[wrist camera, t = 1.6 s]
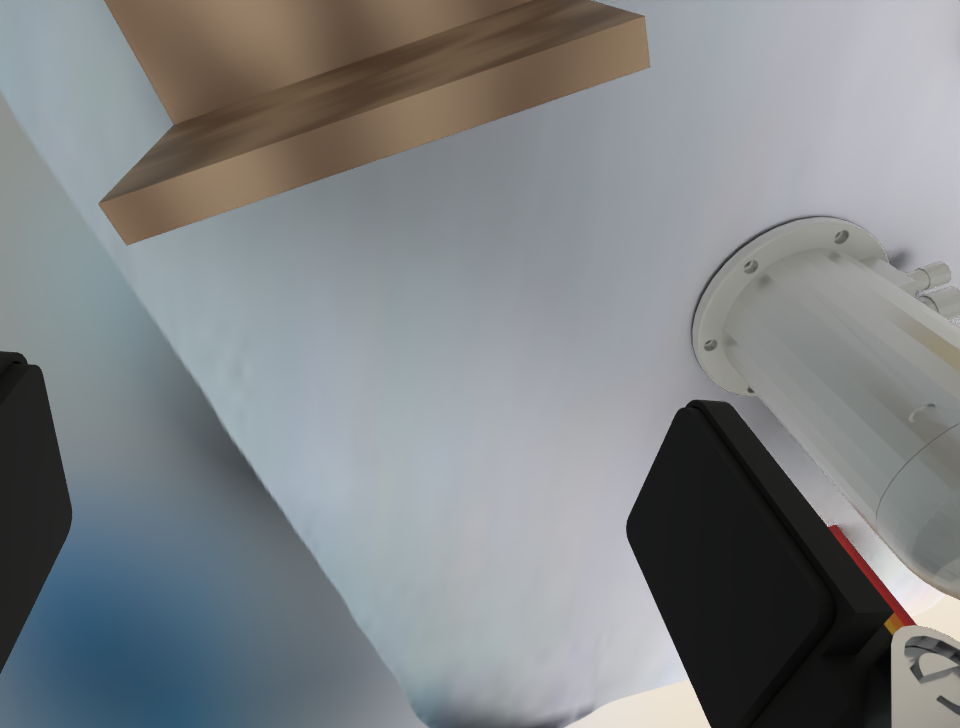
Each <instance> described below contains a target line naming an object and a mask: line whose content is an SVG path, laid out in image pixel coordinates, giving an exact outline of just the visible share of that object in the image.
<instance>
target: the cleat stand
mask: <svg viewBox="0 0 960 728" xmlns="http://www.w3.org/2000/svg"><path fill="white" fill-rule="evenodd" d="M104 1H105V2H106V4H107V6H108V8H109V10H110V11H111V13H112V15H113V17H114V19H115V20H116V22H117V24H118V26H119V27H120V29H121V31H122V33H123V35H124V36H125V38H126V40H127V42H128V43H129V45H130V47H131V49H132V51H133V52H134V54H135V56H136V58H137V60H138V61H139V63H140V65H141V67H142V68H143V70H144V72H145V74H146V76H147V77H148V79H149V81H150V83H151V84H152V86H153V88H154V90H155V92H156V93H157V95H158V97H159V99H160V101H161V102H162V104H163V106H164V108H165V109H166V111H167V113H168V115H169V117H170V118H171V120H172V122H173V124H174V125H173V126H172V127H171V129H170V130H169V131H168V132H167V133H166V134H165V135H164V136H163V137H162V138H161V139H160V140H159V141H158V142H157V143H156V144H155V145H154V146H153V147H152V148H151V149H150V150H149V151H148V152H147V153H146V154H145V156H144V157H143V158H142V159H141V160H140V161H139V162H138V163H137V164H136V165H135V166H134V167H133V168H132V169H131V170H130V171H129V172H128V173H127V174H126V175H125V176H124V177H123V178H122V179H121V180H120V182H119V183H118V184H117V185H116V186H115V187H114V188H113V189H112V190H111V191H110V192H109V193H108V194H107V195H106V196H105V197H104V198H103V199H102V200H101V201H100V202H99V203H98V205H99V206H100V207H101V209H102V210H103V212H104V213H105V215H106V216H107V218H108V219H109V221H110V222H111V224H112V225H113V226H114V228H115V229H116V231H117V232H118V234H119V235H120V237H121V238H122V240H123V241H124V243H125V244H126V246H127V245H130V244H133V243H135V242H138V241H141V240H144V239H147V238H150V237H153V236H156V235H159V234H162V233H165V232H168V231H171V230H174V229H177V228H179V227H182V226H185V225H188V224H191V223H194V222H197V221H200V220H203V219H206V218H209V217H212V216H215V215H218V214H221V213H223V212H226V211H229V210H232V209H235V208H238V207H241V206H244V205H247V204H250V203H253V202H256V201H259V200H262V199H265V198H267V197H270V196H273V195H276V194H279V193H282V192H285V191H288V190H291V189H294V188H297V187H300V186H303V185H306V184H309V183H311V182H314V181H317V180H320V179H323V178H326V177H329V176H332V175H335V174H338V173H341V172H344V171H347V170H350V169H353V168H355V167H358V166H361V165H364V164H367V163H370V162H373V161H376V160H379V159H382V158H385V157H388V156H391V155H394V154H397V153H399V152H402V151H405V150H408V149H411V148H414V147H417V146H420V145H423V144H426V143H429V142H432V141H435V140H438V139H441V138H444V137H446V136H449V135H452V134H455V133H458V132H461V131H464V130H467V129H470V128H473V127H476V126H479V125H482V124H485V123H488V122H490V121H493V120H496V119H499V118H502V117H505V116H508V115H511V114H514V113H517V112H520V111H523V110H526V109H529V108H532V107H534V106H537V105H540V104H543V103H546V102H549V101H552V100H555V99H558V98H561V97H564V96H567V95H570V94H573V93H576V92H578V91H581V90H584V89H587V88H590V87H593V86H596V85H599V84H602V83H605V82H608V81H611V80H614V79H617V78H620V77H622V76H625V75H628V74H631V73H634V72H637V71H640V70H643V69H646V68H649V67H650V62H649V53H648V43H647V34H646V25H645V16H643V15H639V14H636V13H632V12H629V11H625V10H622V9H619V8H615V7H612V6H608V5H605V4H601V3H598V2H595V1H591V0H104Z"/></svg>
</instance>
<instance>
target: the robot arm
mask: <svg viewBox="0 0 960 728" xmlns="http://www.w3.org/2000/svg"><path fill="white" fill-rule="evenodd" d="M950 279H951V272H950V269H949V267H948V266H947V265H946V264H945V263H943V262H936V263H933V264H930V265H927V266H924V267H921V268H918V269H916V270H915V271H912V272H909V273H906V272H904V271H899V270H898V269H896V268H894V267H893V266H891V265H890V264H889V261H888V258H887V254H886V252H885V250H884V249H883V247H882V246H881V244H880V243H879V241H878V240H877V239H876V238H875V237H873V236H872V235H871V234H870V233H868V232H867V231H866V230H864V229H862V228H860V227H858V226H857V225H855V224H853V223H851V222H848V221H844V220H841V219H837V218H826V217H815V218H808V219H802V220H797V221H794V222H791V223H788V224H784V225H781V226H778V227H776V228H774V229H772V230H770V231H769V232H767V233H765V234H763V235H761V236H759V237H757V238H756V239H754V240H753V241H752V242H750V243H749V244H747V245H746V246H744V247H743V248H742V249H740V250H739V251H738V252H737V253H736V254H735V255H734V256H733V257H732V258H731V259H730V260H729V261H727V262H726V263H725V264H724V266H723V267H722V268H721V269H720V271H719V272H718V273H717V274H716V276H715V277H714V278H713V279H712V281H711V282H710V284H709V286H708V287H707V289H706V291H705V293H704V294H703V296H702V298H701V301H700V303H699V306H698V308H697V311H696V314H695V319H694V324H693V329H692V335H693V347H694V351H695V355H696V358H697V360H698V362H699V363H700V365H701V367H702V368H703V370H704V371H705V372H706V373H707V375H708V376H709V377H710V378H711V379H712V380H713V382H715V383H716V384H718V385H719V386H720V387H722V388H723V389H725V390H727V391H730V392H732V393H735V394H738V395H743V396H750V397H759V398H760V399H761V400H762V401H763V403H764V404H765V405H766V406H767V407H768V408H769V409H770V411H771V412H772V413H773V414H774V415H775V416H776V418H777V419H778V420H779V421H780V422H781V423H782V425H783V426H784V427H785V428H786V429H787V430H788V432H789V433H790V434H791V435H792V436H793V437H794V438H795V440H796V441H797V442H798V443H799V444H800V445H801V447H802V448H803V449H804V450H805V451H806V452H807V454H808V455H809V456H810V457H811V458H812V459H813V461H814V462H815V463H816V464H817V465H818V466H819V467H820V469H821V470H822V471H823V472H824V473H825V474H826V476H827V477H828V478H829V479H830V480H831V481H832V483H833V484H834V485H835V486H836V487H837V488H838V490H839V491H840V492H841V493H842V494H843V495H844V496H845V498H846V499H847V500H848V501H849V502H850V503H851V505H852V506H853V507H854V508H855V509H856V510H857V512H858V513H859V514H860V515H861V516H862V517H863V519H864V520H865V521H866V522H867V523H868V524H869V525H870V527H871V528H872V529H873V530H874V531H875V532H876V534H877V535H878V536H879V537H880V538H881V539H882V540H883V541H884V542H885V544H886V545H887V546H888V547H889V548H890V549H891V550H892V552H893V553H894V554H895V555H896V556H897V557H898V558H899V560H900V561H901V562H902V563H903V564H904V565H905V566H906V567H907V568H908V569H909V570H910V571H912V572H913V573H914V574H915V575H917V576H918V577H919V578H920V579H922V580H923V581H924V582H926V583H927V584H929V585H931V586H932V587H934V588H936V589H937V590H939V591H941V592H943V593H945V594H947V595H950V596H952V597H954V598H957V599H959V600H960V327H959V326H957V325H955V324H954V323H952V322H951V321H949V319H952V318H955V317H959V316H960V290H959V289H958V288H955V287H952V286H951V287H948V288H944V289H941V290H938V291H935V292H932V293H929V294H926V295H923V296H920V297H919V298H918V299H916V298H915V294H916V292H917V291H921V290H927V289H930V288H933V287H936V286H939V285H942V284H945V283H948V282H949V281H950ZM71 521H72V507H71V502H70V497H69V493H68V488H67V484H66V479H65V474H64V470H63V465H62V460H61V456H60V451H59V447H58V442H57V437H56V433H55V428H54V424H53V419H52V415H51V410H50V406H49V401H48V396H47V391H46V387H45V382H44V377H43V374H42V371H41V369H40V367H39V366H37V365H29V364H28V363H27V360H26V359H25V357H24V356H23V355H22V354H20V353H17V352H3V351H0V673H1V671H2V669H3V667H4V665H5V663H6V661H7V659H8V657H9V655H10V653H11V651H12V648H13V647H14V645H15V642H16V641H17V638H18V636H19V634H20V632H21V630H22V628H23V626H24V624H25V622H26V620H27V618H28V616H29V614H30V612H31V610H32V608H33V606H34V604H35V601H36V599H37V597H38V595H39V593H40V591H41V589H42V587H43V585H44V583H45V581H46V579H47V577H48V574H49V573H50V571H51V568H52V566H53V564H54V562H55V560H56V558H57V556H58V554H59V552H60V550H61V548H62V546H63V544H64V542H65V540H66V538H67V535H68V533H69V530H70V526H71ZM626 532H627V538H628V541H629V543H630V546H631V548H632V550H633V552H634V555H635V557H636V559H637V561H638V564H639V566H640V568H641V570H642V573H643V575H644V577H645V580H646V582H647V584H648V586H649V589H650V591H651V593H652V595H653V598H654V600H655V602H656V604H657V607H658V609H659V611H660V613H661V616H662V618H663V620H664V623H665V625H666V627H667V629H668V632H669V634H670V636H671V638H672V641H673V643H674V645H675V647H676V650H677V652H678V654H679V656H680V659H681V661H682V663H683V666H684V668H685V670H686V672H687V675H688V677H689V679H690V681H691V684H692V686H693V688H694V690H695V692H696V695H697V697H698V699H699V702H700V704H701V706H702V709H703V711H704V713H705V715H706V718H707V720H708V722H709V724H710V726H711V728H960V643H959V642H958V641H956V640H955V639H953V638H951V637H950V636H948V635H945V634H943V633H941V632H938V631H936V630H933V629H931V628H927V627H921V626H916V625H912V626H905V627H901V628H900V629H899V630H898V631H896V632H895V633H894V634H893V635H892V634H891V633H890V631H889V630H888V629H887V627H886V626H885V625H884V623H885V622H886V621H887V620H888V619H889V618H890V617H891V615H892V614H893V613H894V611H893V609H892V608H891V607H890V606H889V604H888V603H887V602H886V601H885V599H884V598H883V597H882V596H881V594H880V593H879V592H878V590H877V589H876V588H875V587H874V585H873V584H872V583H871V582H870V580H869V579H868V578H867V576H866V575H865V574H864V573H863V571H862V570H861V569H860V568H859V566H858V565H857V564H856V563H855V561H854V560H853V559H852V557H851V556H850V555H849V554H848V552H847V551H846V550H845V549H844V547H843V546H842V545H841V543H840V542H839V541H838V540H837V538H836V537H835V536H834V535H833V533H832V532H831V531H830V529H829V528H828V527H827V526H826V524H825V523H824V522H823V521H822V519H821V518H820V517H819V516H818V514H817V513H816V512H815V510H814V509H813V508H812V507H811V505H810V504H809V503H808V502H807V500H806V499H805V498H804V496H803V495H802V494H801V493H800V491H799V490H798V489H797V488H796V486H795V485H794V484H793V483H792V481H791V480H790V479H789V477H788V476H787V475H786V474H785V472H784V471H783V470H782V469H781V467H780V466H779V465H778V463H777V462H776V461H775V460H774V458H773V457H772V456H771V455H770V453H769V452H768V451H767V450H766V448H765V447H764V446H763V444H762V443H761V442H760V441H759V439H758V438H757V437H756V436H755V434H754V433H753V432H752V430H751V429H750V428H749V427H748V425H747V424H746V423H745V422H744V420H743V419H742V418H741V417H740V415H739V414H738V413H737V411H736V410H735V409H734V408H733V407H732V406H731V405H730V404H729V403H727V402H721V401H707V400H693V401H691V402H689V403H688V404H687V405H686V407H685V408H681V409H680V410H678V412H677V413H676V415H675V417H674V419H673V421H672V423H671V426H670V428H669V430H668V432H667V434H666V436H665V439H664V441H663V443H662V445H661V447H660V450H659V452H658V454H657V456H656V458H655V460H654V463H653V465H652V467H651V469H650V471H649V473H648V476H647V478H646V480H645V482H644V484H643V486H642V489H641V491H640V493H639V495H638V497H637V500H636V502H635V504H634V506H633V508H632V510H631V513H630V515H629V517H628V520H627V525H626Z"/></svg>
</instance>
